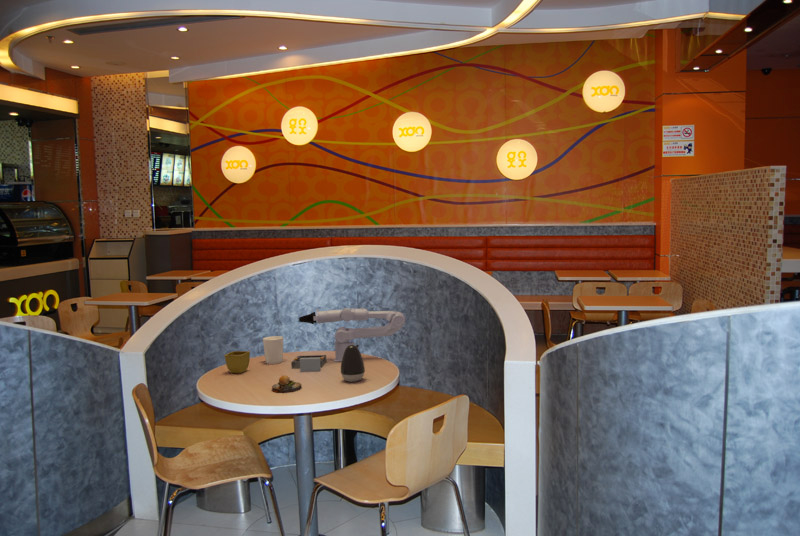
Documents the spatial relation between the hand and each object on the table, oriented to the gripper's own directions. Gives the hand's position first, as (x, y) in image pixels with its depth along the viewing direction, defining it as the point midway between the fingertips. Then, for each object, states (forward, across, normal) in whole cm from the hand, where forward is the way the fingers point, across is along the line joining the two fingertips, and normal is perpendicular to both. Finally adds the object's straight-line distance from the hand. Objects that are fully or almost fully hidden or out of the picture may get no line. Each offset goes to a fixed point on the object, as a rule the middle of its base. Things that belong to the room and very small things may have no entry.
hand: (300, 319), depth 299 cm
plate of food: (+2, +47, +26) cm, 54 cm away
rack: (-3, +5, +22) cm, 22 cm away
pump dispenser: (-25, +38, +26) cm, 53 cm away
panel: (-5, +18, +23) cm, 30 cm away
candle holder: (+15, -5, +20) cm, 26 cm away
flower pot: (+29, +13, +21) cm, 38 cm away
